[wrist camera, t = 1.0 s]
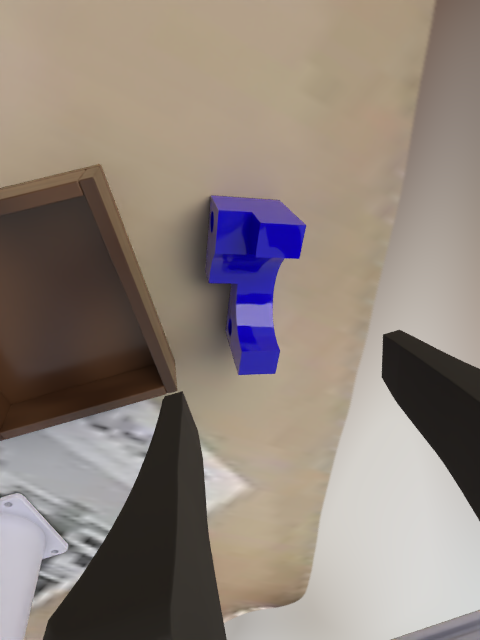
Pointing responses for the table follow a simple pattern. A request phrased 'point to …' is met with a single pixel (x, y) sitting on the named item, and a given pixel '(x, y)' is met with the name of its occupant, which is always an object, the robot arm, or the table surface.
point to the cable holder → (251, 272)
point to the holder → (72, 307)
